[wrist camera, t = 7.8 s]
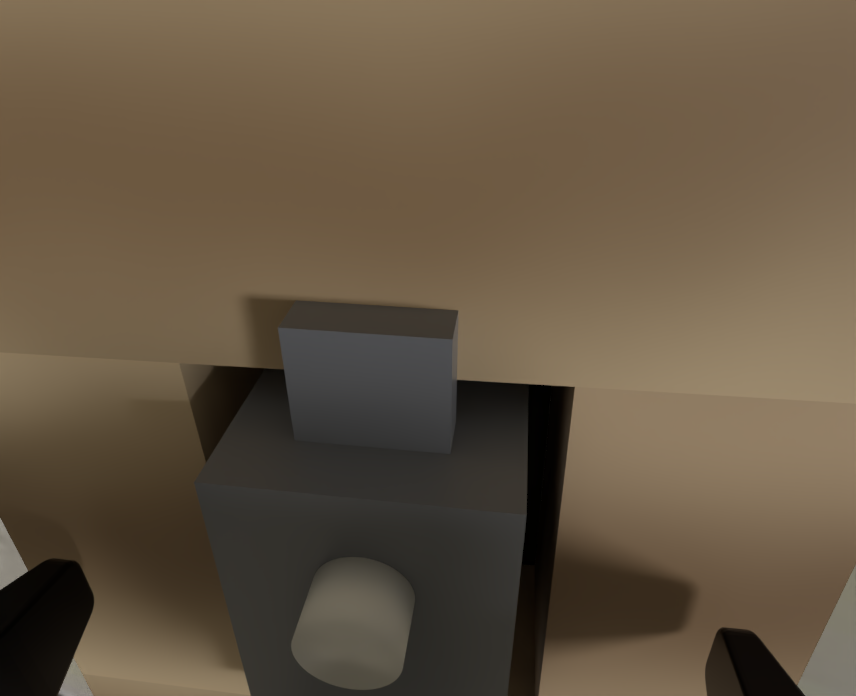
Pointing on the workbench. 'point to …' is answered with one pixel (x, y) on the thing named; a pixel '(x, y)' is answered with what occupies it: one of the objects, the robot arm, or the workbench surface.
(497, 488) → the servo
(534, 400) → the workbench surface
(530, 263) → the tan flat block
